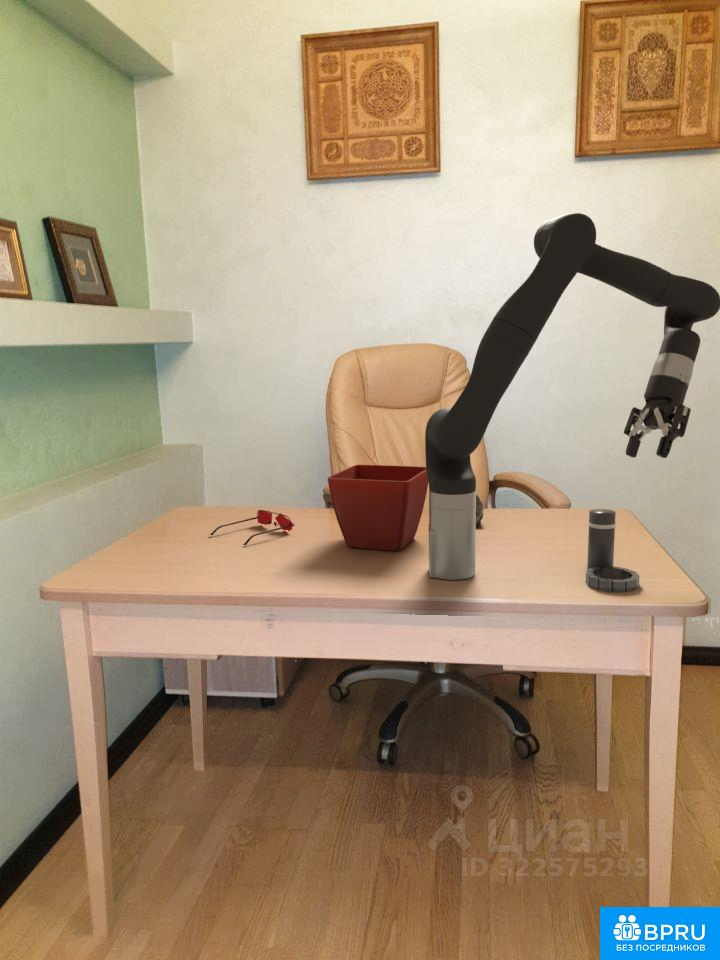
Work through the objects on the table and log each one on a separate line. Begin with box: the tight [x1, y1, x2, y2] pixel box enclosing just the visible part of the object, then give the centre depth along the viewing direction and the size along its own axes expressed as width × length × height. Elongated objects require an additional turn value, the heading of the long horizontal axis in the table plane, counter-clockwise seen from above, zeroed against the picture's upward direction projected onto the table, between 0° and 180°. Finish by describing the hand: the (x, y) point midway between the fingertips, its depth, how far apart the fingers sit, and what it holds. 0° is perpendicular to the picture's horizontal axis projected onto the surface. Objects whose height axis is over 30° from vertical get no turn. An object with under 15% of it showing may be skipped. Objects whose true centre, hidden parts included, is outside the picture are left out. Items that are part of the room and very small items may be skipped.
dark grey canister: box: [586, 508, 617, 570], centre depth 152 cm, size 5×5×12 cm
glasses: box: [209, 509, 295, 546], centre depth 184 cm, size 14×16×5 cm
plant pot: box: [327, 464, 429, 552], centre depth 174 cm, size 19×19×17 cm
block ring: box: [585, 565, 640, 593], centre depth 144 cm, size 9×9×2 cm
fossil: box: [476, 493, 485, 526], centre depth 191 cm, size 11×9×10 cm
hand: (645, 456), depth 149 cm, fingers open, 8 cm apart
